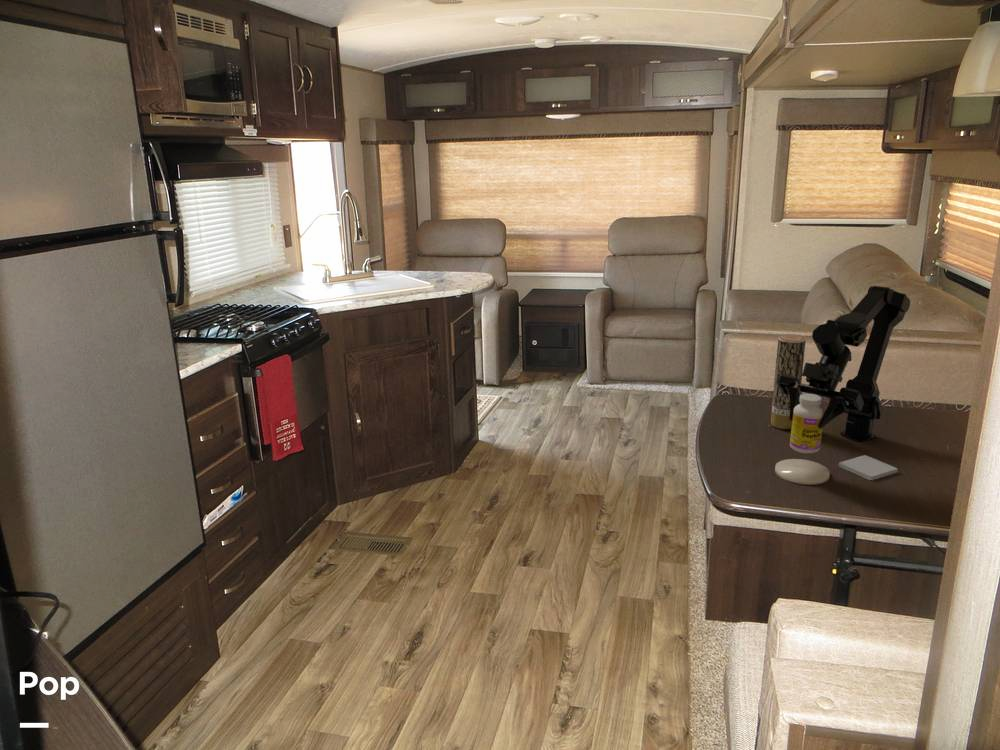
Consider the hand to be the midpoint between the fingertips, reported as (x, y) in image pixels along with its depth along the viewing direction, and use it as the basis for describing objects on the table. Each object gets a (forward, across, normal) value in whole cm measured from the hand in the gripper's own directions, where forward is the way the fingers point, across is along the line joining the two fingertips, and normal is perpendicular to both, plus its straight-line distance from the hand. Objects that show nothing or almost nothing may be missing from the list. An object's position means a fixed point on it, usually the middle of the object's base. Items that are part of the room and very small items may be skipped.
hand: (804, 423), depth 174 cm
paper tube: (-9, -18, +28) cm, 34 cm away
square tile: (0, +10, +19) cm, 21 cm away
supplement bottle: (+4, 0, +6) cm, 7 cm away
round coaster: (+8, 0, +10) cm, 13 cm away
